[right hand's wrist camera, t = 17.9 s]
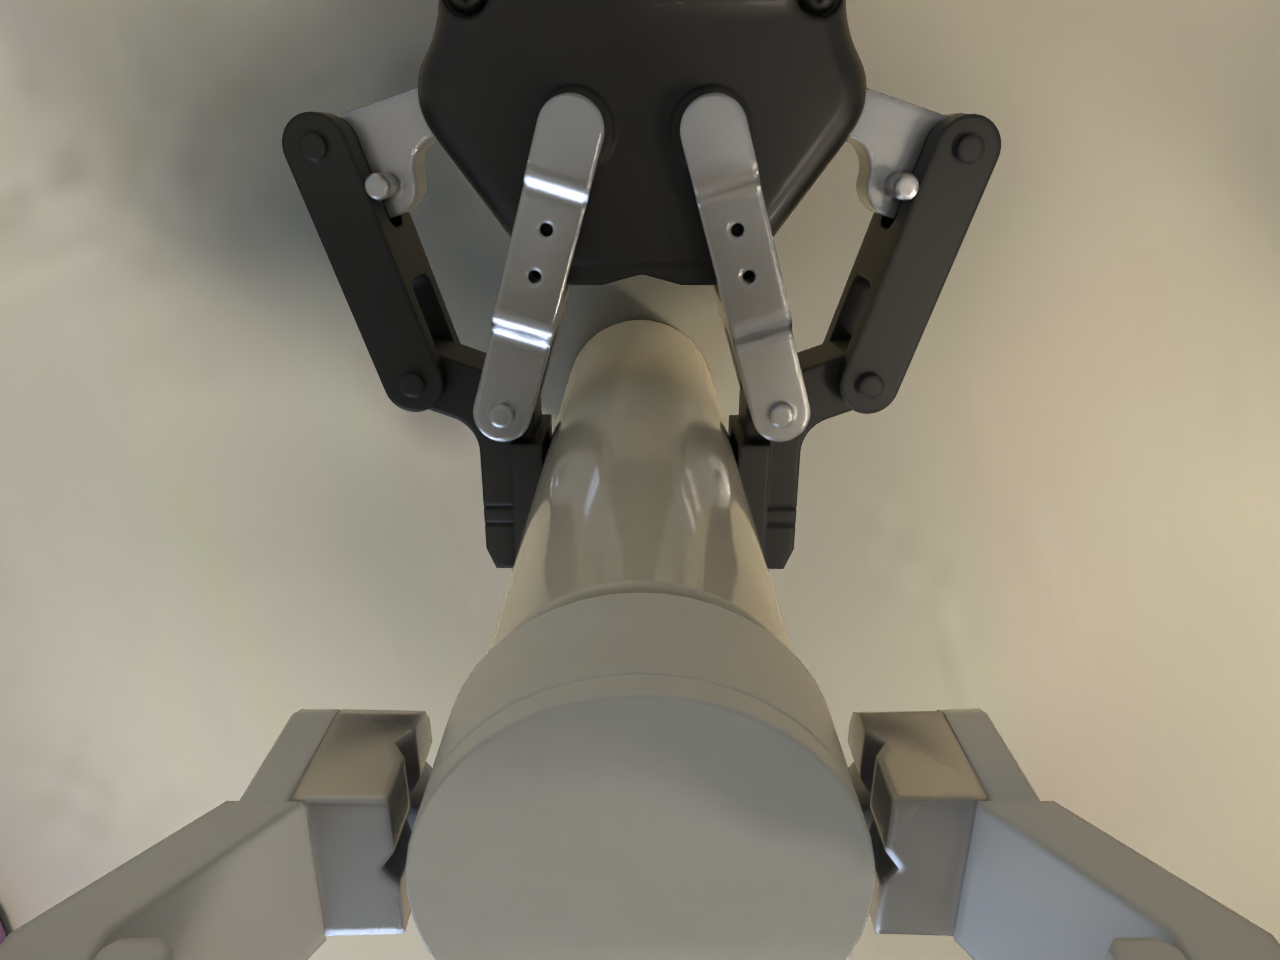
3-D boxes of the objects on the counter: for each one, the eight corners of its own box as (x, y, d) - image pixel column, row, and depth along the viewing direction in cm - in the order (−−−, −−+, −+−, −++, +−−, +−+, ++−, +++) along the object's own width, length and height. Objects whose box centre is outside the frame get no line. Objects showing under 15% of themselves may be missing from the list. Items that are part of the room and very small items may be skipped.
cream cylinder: (547, 423, 26) (390, 905, 10) (603, 295, 25) (532, 601, 8) (674, 478, 27) (727, 1015, 10) (735, 355, 26) (911, 751, 9)
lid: (868, 865, 11) (913, 1008, 9) (519, 941, 12) (496, 1092, 10) (787, 544, 9) (823, 640, 8) (385, 647, 10) (329, 761, 8)
